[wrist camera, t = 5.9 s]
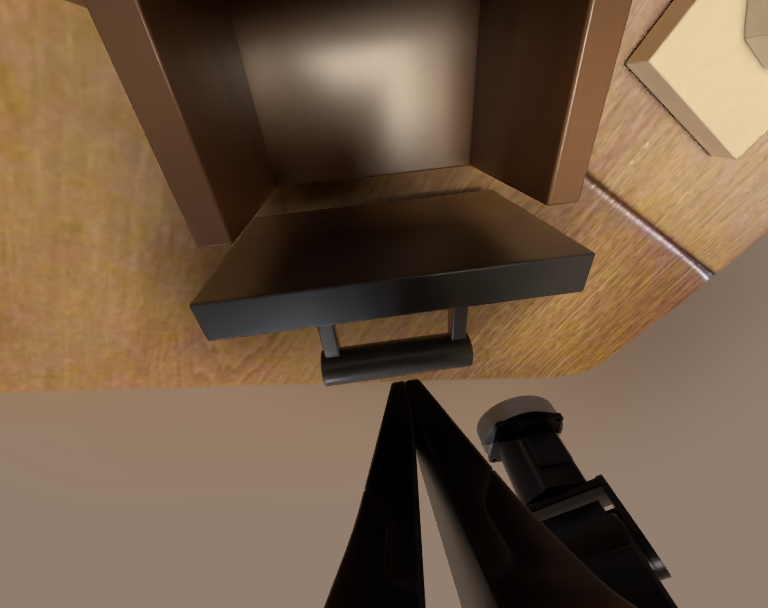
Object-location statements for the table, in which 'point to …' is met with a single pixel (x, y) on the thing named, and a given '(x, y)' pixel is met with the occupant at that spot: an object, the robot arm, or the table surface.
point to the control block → (710, 70)
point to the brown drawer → (369, 154)
